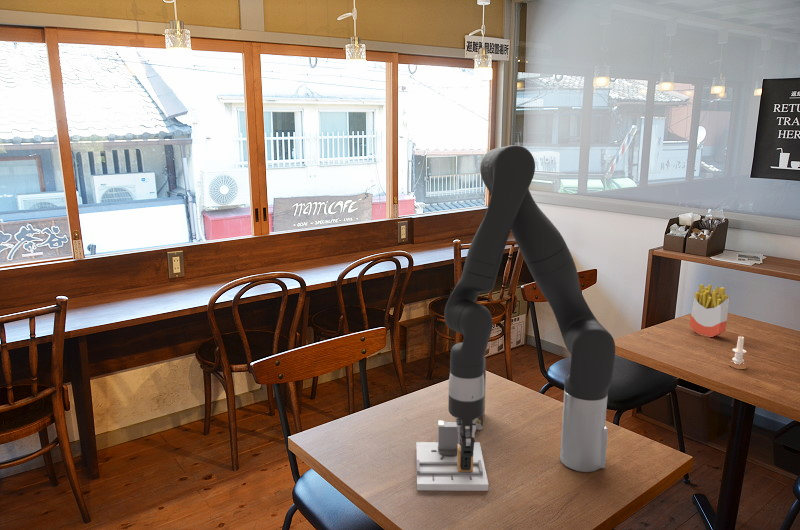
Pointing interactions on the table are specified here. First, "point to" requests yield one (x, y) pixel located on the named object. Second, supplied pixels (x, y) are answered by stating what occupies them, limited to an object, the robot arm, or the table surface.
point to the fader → (459, 461)
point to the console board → (448, 470)
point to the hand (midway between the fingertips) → (464, 464)
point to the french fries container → (709, 311)
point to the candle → (739, 351)
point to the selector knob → (447, 438)
